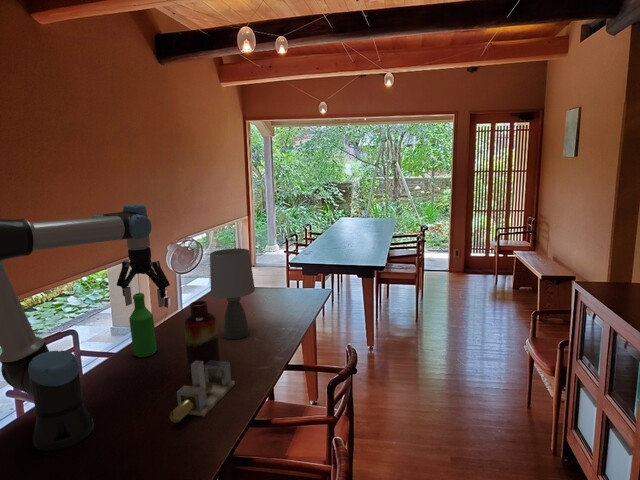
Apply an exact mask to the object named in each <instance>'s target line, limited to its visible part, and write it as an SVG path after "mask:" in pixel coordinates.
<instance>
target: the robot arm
mask: <svg viewBox="0 0 640 480" xmlns="http://www.w3.org/2000/svg"><path fill="white" fill-rule="evenodd" d="M151 232H152V221H151V220H150V219H149V216H148V211H147V207H146V205H145V204H144V203H143V204H142V203H135V204H133V203H132V204H126V205H125V204H124V205H123V207H122V211H120V212H119V211H117V212H110V213H100V214H95V215H92V216H91V217H82V218H81V217H80V218H70V219H69V218H68V219H67V218H66V219H57V220H56V219H55V220H43V221H29V220H27V219H25V218H21V219H20V218H19V219H6V218H0V348H1V353H0V363H1V368H0V371H1V376H2V378H3V380H4V381H5V382H6V383H7V384H8V385H9V386H10V387H12V388H15V390H16V389H17V390H19V391H21V392H23V393H25V394H28V395H29V396H31V397H32V398H33V403H34V404H33V405H34V409H35V415H36V418H35V425H34V430H33V432H32V443H33V446H34V448H35V449H37V450H40V451H44V452H46V451H47V452H49V451H50V452H51V451H57V450H62V449H66V448H69V447H71V446H74V445H76V444H78V443H80V442H81V441H83V440H85V439H86V438H87V437H88V436H89V435H91V434H92V432H93V431H94V427H95V425H94V420H93V419H94V418H93V416H92V415H91V413H90V411H89V410H88V408H87V407H86V405H85V403H84V398H83V390H82V384H81V377H80V376H81V375H80V366H79V363H78V360H77V357H76V356H75V354H73V353H72V352H71V351H67V350H63V349H62V350H49V348H48V346H47V344H46V342H45V339H44V338H43V337H40V336H36V334H35V332H34V330H33V328H32V325H31V323H30V321H29V319H28V317H27V314H26V312H25V310H24V308H23V306H22V303H21V301H20V299H19V296H18V295H17V292H16V291H15V288H14V286H13V283H12V280H11V279H10V277H9V275H8V272H7V271H6V268H5V266H4V262H5V261H6V260H8V259H15V258H19V257H20V258H21V257H26V256H30V255H32V254H33V252H35V251H42V250H49V249H50V250H51V249H59V248H64V247H73V246H80V245H88V244H97V243H103V242H110V241H119V240H126V244H127V245H126V246H127V249H128V250H127V254H128V255H127V257H128V260H124V261H122V262H121V269H120V272H119V275H118V279H117V281H116V286H117V287H121V289H122V296H123V297H124V303H125V307H128V306H131V305H133V296H132V289H131V286H130V284H131V282H132V281H133V279H134V278H135V276H136V275H139V274H141V275H145V276H148V277H149V279H150V280H151V281H152V282H153V283H154V285H155V286H156V287H157V289H156V295H157V302H158V303H157V304H158V308H162V307H164V306H166V304H165V297H166V295H167V294H166V288H167V287H169V286H170V285H171V284H170V282H169V280H168V277H167V276H166V274H165V272H164V271H163V269H162V266H161V262H160V260H156V261H152V260H151V259H152V250H151V247H150V246H151V241H150V234H151ZM130 268H131V269H130ZM129 269H130V271H129Z"/></svg>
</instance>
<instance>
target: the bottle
mask: <svg viewBox="0 0 640 480" xmlns="http://www.w3.org/2000/svg"><path fill="white" fill-rule="evenodd" d="M145 297H146V296H145V294H144V292H138V293H135V294H133V296H132V300H133V305H134V309H133V311H132V313H131V314H130V317H129V320H128V321H129V326H130V334H131V335H130V337H131V343H132V350H133V356H136V358H148V357H150V356H153V355H155V353H156V352H157V350H158V348H157V347H158V346H157V341H156V339H157V337H156V332H155V331H156V330H155V321H154V315H153V313H152V312H151V311H150V310H149V309H148V308H147V307H146V304H145V303H146V302H145Z"/></svg>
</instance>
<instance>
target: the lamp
mask: <svg viewBox="0 0 640 480" xmlns="http://www.w3.org/2000/svg"><path fill="white" fill-rule="evenodd" d="M252 268H253V267H252V262H251V254H250V250H249V249H247V248H241V247H240V248H239V247H238V248H237V247H236V248H235V247H234V248H224V249H219V250H214V251H211V252H210V253H209V270H210V271H209V273H210V274H209V276H210V295H211V296H212V297H214V298H217V299H226V302H227V304H226V309H225V312H224V317H223V318H224V320H223V333H222V334H223V338H225V339H227V340H241V339H244V338H246V337H248V336H249V335H250V328H249V323H248V319H247V315H246V312H245V309H244V307H243V305H242V303H241V302H240V301H241V299H242V298H241V297H246V296H248V295H251V294H253V293H254V292H255V291H256V288H255V282H254V275H253V269H252Z"/></svg>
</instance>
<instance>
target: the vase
mask: <svg viewBox="0 0 640 480" xmlns="http://www.w3.org/2000/svg"><path fill="white" fill-rule="evenodd" d="M189 310H190V314H189V315H187V316H186V318H185V319H184V321H183V325H184V326H183V327H184V335H185V336H184V337H185V346H186V347H185V348H186V354H187V355H186V357H187V364H188V369H189V371H191V364H192V363H193V362H195V361H203V364H204V365H205V364H206V363H207V362H208V361H210V360H215V361H221V360H220V359H221V358H220V347H219V346H220V345H219V338H218V326H217V318H216V316H215V315H214V314H213V313H212V312H209V311H208V302H207V301H204V300H197V301H193V302H190V304H189ZM204 375H205V370H204Z"/></svg>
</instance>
